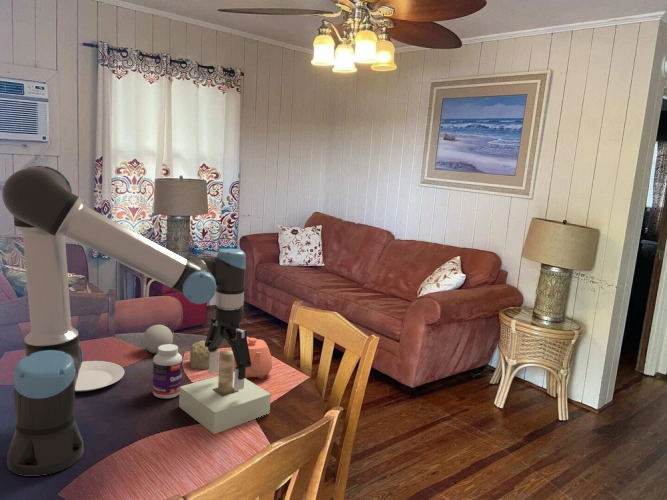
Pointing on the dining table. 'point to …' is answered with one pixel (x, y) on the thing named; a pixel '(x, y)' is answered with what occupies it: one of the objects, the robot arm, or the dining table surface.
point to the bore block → (223, 404)
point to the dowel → (225, 373)
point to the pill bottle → (167, 372)
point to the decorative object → (199, 355)
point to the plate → (97, 375)
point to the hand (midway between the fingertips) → (225, 380)
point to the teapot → (257, 359)
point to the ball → (157, 337)
